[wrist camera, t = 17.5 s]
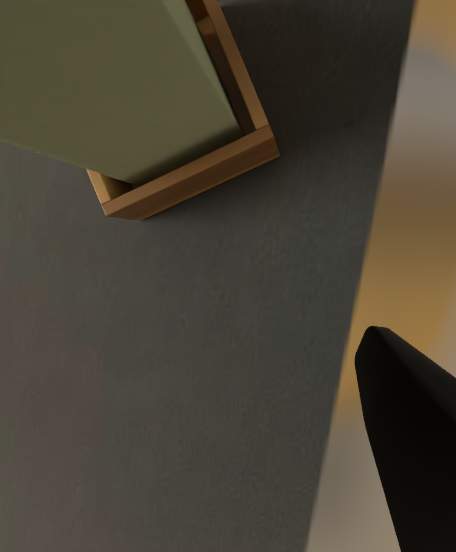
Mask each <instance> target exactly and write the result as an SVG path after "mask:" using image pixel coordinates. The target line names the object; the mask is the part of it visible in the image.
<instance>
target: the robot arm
mask: <svg viewBox="0 0 456 552" xmlns="http://www.w3.org/2000/svg"><path fill="white" fill-rule="evenodd" d="M355 369H356V375H357V381H358V387H359V392H360V399H361V405H362V411H363V417H364V422H365V427H366V430H367V434H368V438H369V441H370V445H371V448H372V452H373V455H374V459H375V462H376V466H377V469H378V473H379V476H380V480H381V483H382V487H383V490H384V493H385V497H386V501H387V504H388V507H389V511H390V515H391V518H392V521H393V525H394V528H395V532H396V535H397V539H398V542H399V546H400V549H401V552H456V378H455V377H454V376H452V375H451V374H450V373H448V372H447V371H446V370H444V369H442V368H441V367H440V366H439V365H437V364H436V363H435V362H433V361H432V360H431V359H429V358H428V357H427V356H425V355H424V354H422V353H421V352H420V351H418V350H417V349H416V348H414V347H413V346H411V345H410V344H409V343H408V342H406V341H405V340H403V339H402V338H401V337H399V336H398V335H397V334H395V333H394V332H393V331H391V330H390V329H388V328H385V327H377V326H370V327H368V328H367V329H366V331H365V333H364V335H363V338H362V340H361V342H360V345H359V347H358V350H357V352H356V355H355Z"/></svg>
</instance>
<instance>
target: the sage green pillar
mask: <svg viewBox="0 0 456 552" xmlns="http://www.w3.org/2000/svg"><path fill="white" fill-rule="evenodd" d="M244 136H245V135H244V132H243V130H242V127H241V125H240V123H239V120H238V118H237V116H236V113H235V111H234V109H233V106H232V104H231V101H230V99H229V97H228V94H227V92H226V90H225V87H224V85H223V83H222V80H221V78H220V75H219V73H218V71H217V68H216V66H215V64H214V61H213V59H212V57H211V54H210V52H209V49H208V47H207V45H206V42H205V40H204V38H203V36H202V34H201V32H200V30H199V28H198V26H197V24H196V22H195V20H194V18H193V16H192V14H191V12H190V10H189V8H188V6H187V4H186V2H185V0H0V140H2V141H5V142H8V143H11V144H14V145H17V146H20V147H23V148H26V149H29V150H32V151H35V152H38V153H41V154H44V155H47V156H50V157H53V158H56V159H59V160H62V161H65V162H68V163H71V164H74V165H77V166H80V167H83V168H86V169H89V170H92V171H95V172H98V173H101V174H104V175H107V176H110V177H113V178H116V179H119V180H122V181H125V182H128V183H131V184H134V185H137V186H142V185H144V184H146V183H149V182H151V181H153V180H155V179H157V178H159V177H161V176H163V175H165V174H167V173H169V172H171V171H174V170H176V169H178V168H180V167H182V166H184V165H186V164H188V163H190V162H192V161H194V160H196V159H198V158H201V157H203V156H205V155H207V154H209V153H211V152H213V151H215V150H217V149H219V148H221V147H223V146H225V145H228V144H230V143H232V142H234V141H236V140H238V139H240V138H242V137H244Z"/></svg>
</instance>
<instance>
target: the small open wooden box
mask: <svg viewBox="0 0 456 552" xmlns="http://www.w3.org/2000/svg"><path fill="white" fill-rule="evenodd" d="M185 2H186V4H187V6H188V8H189V10H190V12H191V14H192V16H193V18H194V20H195V22H196V24H197V26H198V28H199V30H200V32H201V34H202V36H203V38H204V40H205V42H206V45H207V47H208V49H209V52H210V54H211V57H212V59H213V61H214V64H215V66H216V68H217V71H218V73H219V75H220V78H221V80H222V83H223V85H224V87H225V90H226V92H227V94H228V97H229V99H230V101H231V104H232V106H233V109H234V111H235V113H236V116H237V118H238V120H239V123H240V125H241V127H242V130H243V132H244V135H245V136H244V137H242V138H240V139H238V140H236V141H234V142H232V143H230V144H228V145H225V146H223V147H221V148H219V149H217V150H215V151H213V152H211V153H209V154H207V155H205V156H203V157H201V158H198V159H196V160H194V161H192V162H190V163H188V164H186V165H184V166H182V167H180V168H178V169H176V170H174V171H171V172H169V173H167V174H165V175H163V176H161V177H159V178H157V179H155V180H153V181H151V182H149V183H146V184H144V185H142V186H137V185H134V184H131V183H128V182H125V181H122V180H119V179H116V178H113V177H110V176H107V175H104V174H101V173H98V172H95V171H92V170H89V169H87V172H88V174H89V177H90V179H91V182H92V184H93V186H94V189H95V191H96V194H97V196H98V198H99V201H100V203H101V205H102V208H103V210H104V213H105V215H106V216H108V217H116V218H124V219H131V220H140V221H141V220H143V219H145V218H148V217H150V216H152V215H154V214H156V213H158V212H160V211H163V210H165V209H167V208H169V207H171V206H173V205H176V204H178V203H180V202H182V201H184V200H186V199H189V198H191V197H193V196H195V195H197V194H199V193H202V192H204V191H206V190H208V189H210V188H212V187H214V186H217V185H219V184H221V183H223V182H225V181H227V180H230V179H232V178H234V177H236V176H238V175H240V174H243V173H245V172H247V171H249V170H251V169H253V168H256V167H258V166H260V165H262V164H264V163H266V162H269V161H271V160H273V159H275V158H277V157H279V156H280V154H279V150H278V147H277V144H276V141H275V138H274V135H273V132H272V130H271V128H270V126H269V123H268V120H267V118H266V116H265V113H264V111H263V108H262V106H261V103H260V101H259V99H258V96H257V94H256V91H255V89H254V87H253V84H252V82H251V79H250V77H249V75H248V72H247V70H246V67H245V65H244V62H243V60H242V58H241V55H240V53H239V50H238V48H237V46H236V43H235V41H234V38H233V36H232V33H231V31H230V29H229V26H228V24H227V21H226V19H225V17H224V14H223V12H222V9H221V7H220V5H219V2H218V0H185Z"/></svg>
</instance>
